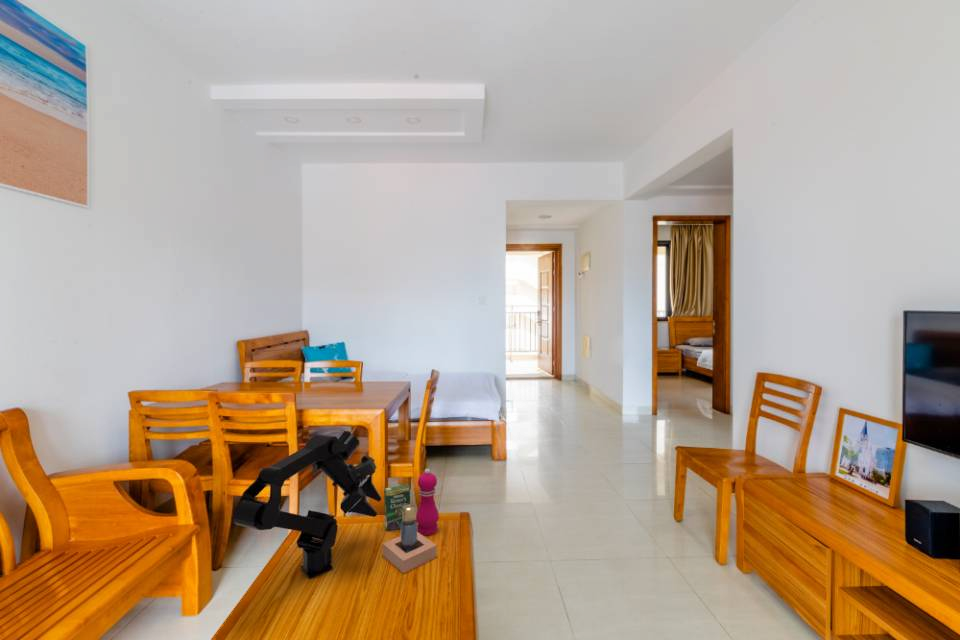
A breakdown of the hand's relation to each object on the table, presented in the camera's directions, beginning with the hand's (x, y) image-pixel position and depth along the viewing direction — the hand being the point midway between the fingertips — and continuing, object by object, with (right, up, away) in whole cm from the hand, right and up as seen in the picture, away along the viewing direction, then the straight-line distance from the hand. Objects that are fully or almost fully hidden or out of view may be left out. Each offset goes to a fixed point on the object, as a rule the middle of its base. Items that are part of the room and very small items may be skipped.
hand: (378, 507), depth 126 cm
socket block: (+9, -14, -1) cm, 16 cm away
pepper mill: (+13, -13, +13) cm, 23 cm away
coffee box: (+3, -13, +15) cm, 20 cm away
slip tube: (+9, -13, -1) cm, 16 cm away
